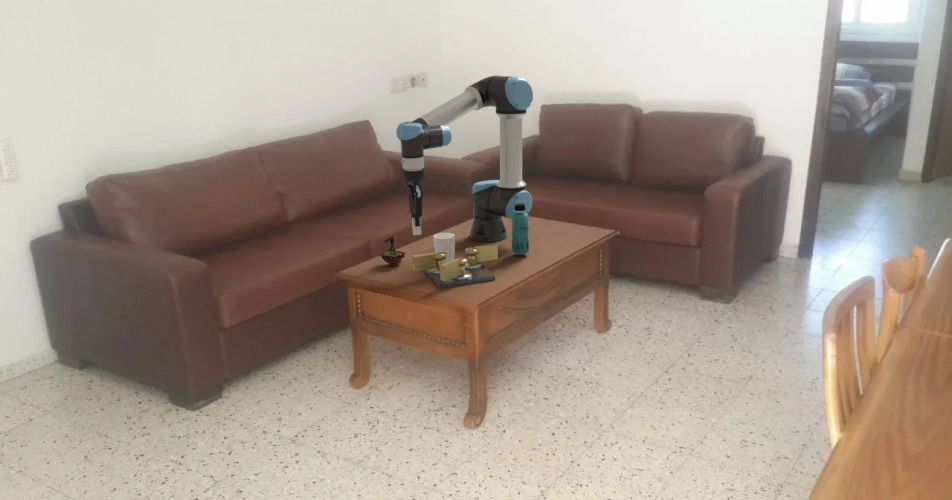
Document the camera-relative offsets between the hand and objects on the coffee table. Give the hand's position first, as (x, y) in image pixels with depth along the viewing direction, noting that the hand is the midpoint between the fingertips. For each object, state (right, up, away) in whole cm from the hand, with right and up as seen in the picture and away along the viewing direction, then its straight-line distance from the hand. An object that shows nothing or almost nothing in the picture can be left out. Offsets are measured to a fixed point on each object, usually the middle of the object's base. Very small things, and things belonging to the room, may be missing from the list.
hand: (417, 234), depth 279 cm
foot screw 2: (+13, -15, -8) cm, 22 cm away
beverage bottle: (+38, -8, +19) cm, 43 cm away
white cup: (+9, -10, +16) cm, 21 cm away
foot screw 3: (+23, -10, +5) cm, 26 cm away
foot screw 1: (+5, -13, 0) cm, 14 cm away
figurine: (-10, -11, +14) cm, 21 cm away
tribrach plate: (+15, -15, 0) cm, 21 cm away
